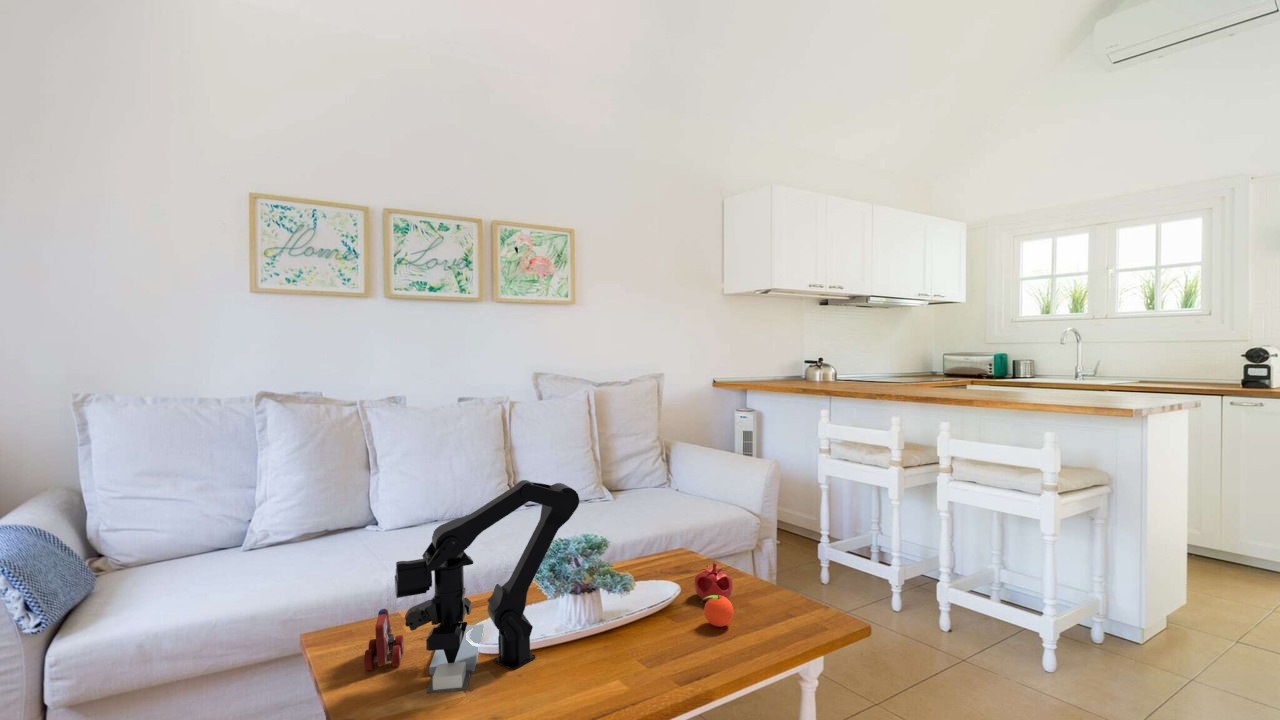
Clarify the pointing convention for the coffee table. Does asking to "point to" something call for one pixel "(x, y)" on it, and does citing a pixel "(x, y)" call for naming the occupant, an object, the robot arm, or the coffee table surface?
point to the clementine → (718, 610)
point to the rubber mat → (464, 687)
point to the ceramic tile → (449, 675)
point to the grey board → (462, 650)
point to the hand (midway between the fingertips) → (451, 664)
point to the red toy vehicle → (384, 644)
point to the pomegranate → (713, 583)
